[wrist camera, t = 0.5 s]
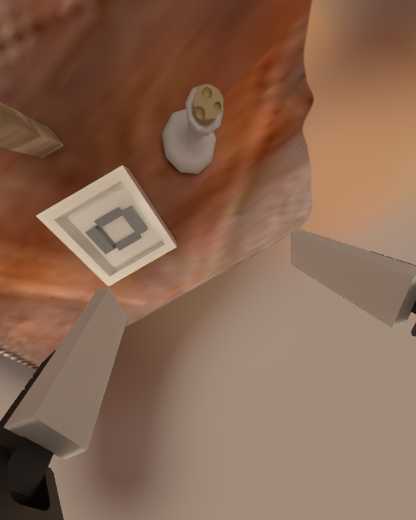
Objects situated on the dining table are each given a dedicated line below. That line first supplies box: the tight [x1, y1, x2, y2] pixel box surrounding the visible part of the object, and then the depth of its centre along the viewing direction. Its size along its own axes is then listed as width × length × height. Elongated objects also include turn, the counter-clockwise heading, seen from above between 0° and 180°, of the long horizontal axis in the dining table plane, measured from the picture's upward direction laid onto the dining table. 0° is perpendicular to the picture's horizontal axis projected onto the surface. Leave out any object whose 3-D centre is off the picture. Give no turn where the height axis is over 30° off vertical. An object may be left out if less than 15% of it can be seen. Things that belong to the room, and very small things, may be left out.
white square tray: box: [36, 165, 176, 286], centre depth 31 cm, size 16×16×4 cm
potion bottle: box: [162, 84, 224, 174], centre depth 22 cm, size 9×9×18 cm
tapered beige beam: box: [0, 102, 64, 158], centre depth 21 cm, size 2×4×11 cm, turn 118°
